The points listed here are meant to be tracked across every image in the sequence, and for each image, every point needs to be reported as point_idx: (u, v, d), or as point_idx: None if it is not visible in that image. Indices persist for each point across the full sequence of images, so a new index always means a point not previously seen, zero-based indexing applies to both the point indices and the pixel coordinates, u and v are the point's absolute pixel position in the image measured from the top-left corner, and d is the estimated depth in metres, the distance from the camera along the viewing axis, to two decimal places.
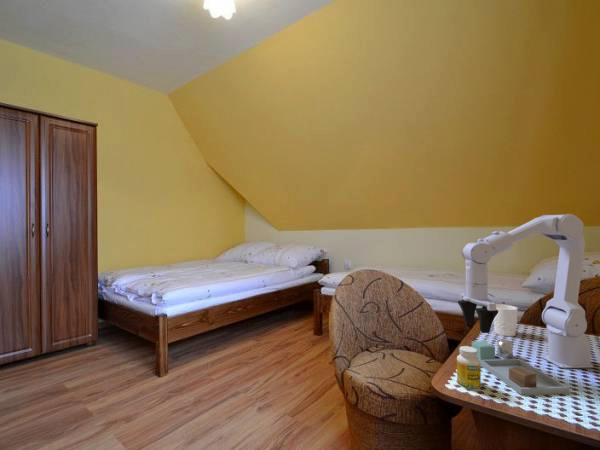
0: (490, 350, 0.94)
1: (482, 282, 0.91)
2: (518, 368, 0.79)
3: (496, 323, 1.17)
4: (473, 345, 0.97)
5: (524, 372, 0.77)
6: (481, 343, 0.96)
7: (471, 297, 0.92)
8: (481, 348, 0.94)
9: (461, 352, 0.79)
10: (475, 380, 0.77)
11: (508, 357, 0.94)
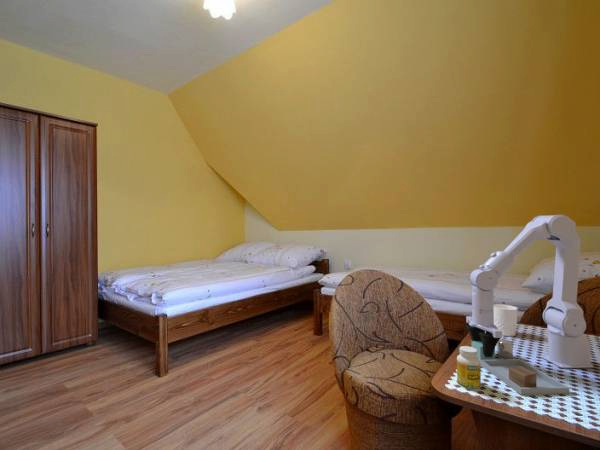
0: None
1: (487, 309, 0.93)
2: (518, 368, 0.79)
3: (496, 323, 1.17)
4: (473, 345, 0.97)
5: (524, 372, 0.77)
6: (481, 343, 0.96)
7: (477, 323, 0.95)
8: (481, 348, 0.94)
9: (461, 352, 0.79)
10: (475, 380, 0.77)
11: (508, 357, 0.94)
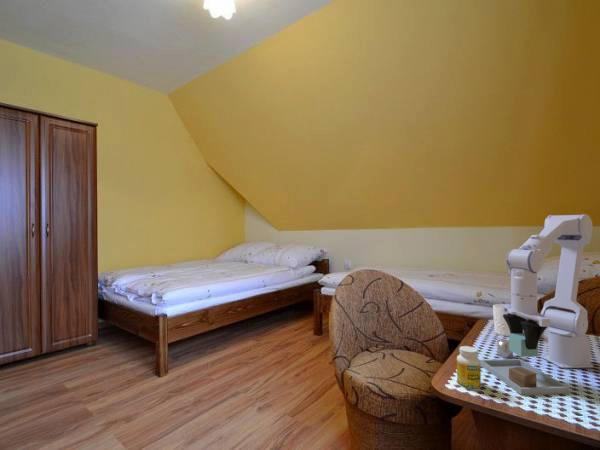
0: None
1: (536, 293, 0.81)
2: (518, 368, 0.79)
3: (496, 323, 1.17)
4: (511, 337, 0.85)
5: (524, 372, 0.77)
6: (520, 335, 0.84)
7: (518, 311, 0.82)
8: (522, 341, 0.81)
9: (461, 352, 0.79)
10: (475, 380, 0.77)
11: (508, 357, 0.94)
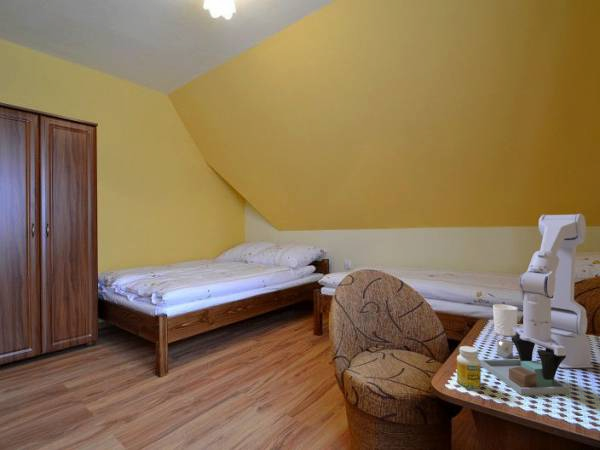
0: None
1: (550, 319, 0.78)
2: (518, 368, 0.79)
3: (496, 323, 1.17)
4: (524, 366, 0.81)
5: (524, 372, 0.77)
6: (533, 364, 0.80)
7: (531, 337, 0.79)
8: (536, 370, 0.78)
9: (461, 352, 0.79)
10: (475, 380, 0.77)
11: (508, 357, 0.94)
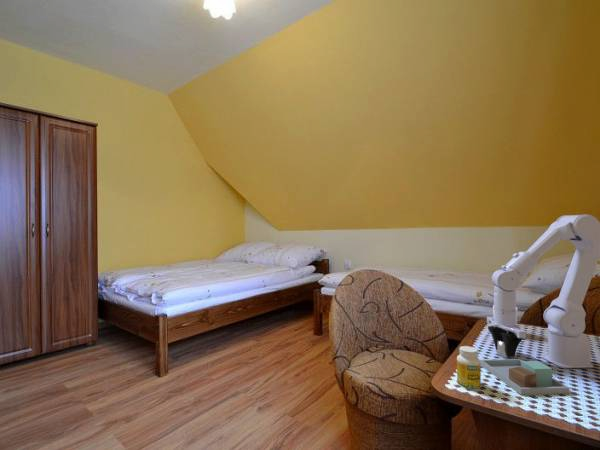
0: (546, 372, 0.78)
1: (509, 309, 0.93)
2: (518, 368, 0.79)
3: None
4: (524, 366, 0.81)
5: (524, 372, 0.77)
6: (533, 364, 0.80)
7: (499, 324, 0.95)
8: (536, 370, 0.78)
9: (461, 352, 0.79)
10: (475, 380, 0.77)
11: (508, 357, 0.94)
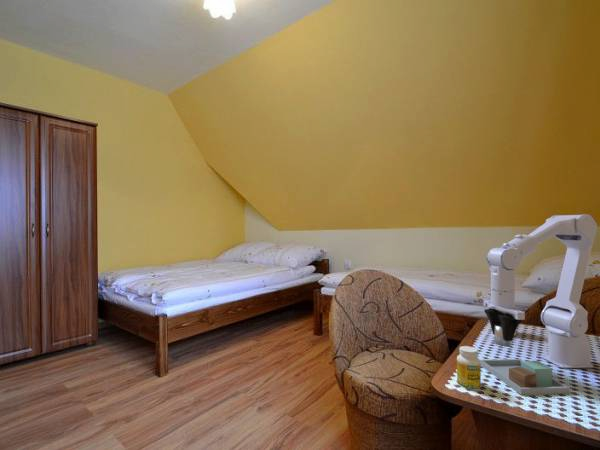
0: (546, 372, 0.78)
1: (511, 289, 0.86)
2: (518, 368, 0.79)
3: None
4: (524, 366, 0.81)
5: (524, 372, 0.77)
6: (533, 364, 0.80)
7: (496, 305, 0.88)
8: (536, 370, 0.78)
9: (461, 352, 0.79)
10: (475, 380, 0.77)
11: (507, 343, 0.87)
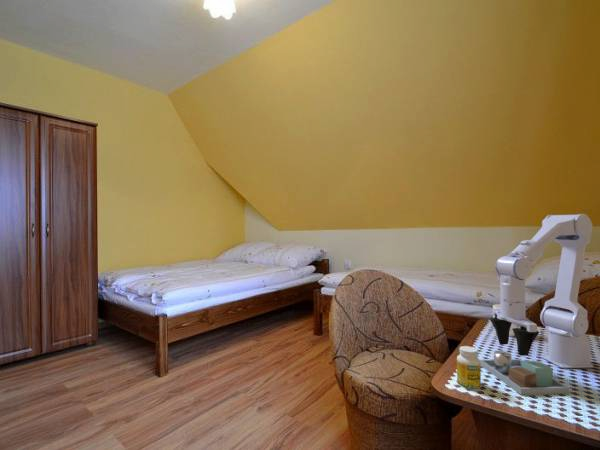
0: (546, 372, 0.78)
1: (523, 300, 0.83)
2: (518, 368, 0.79)
3: None
4: (524, 365, 0.81)
5: (524, 372, 0.77)
6: (534, 363, 0.80)
7: (507, 316, 0.85)
8: (536, 369, 0.78)
9: (461, 352, 0.79)
10: (475, 380, 0.77)
11: (507, 371, 0.84)
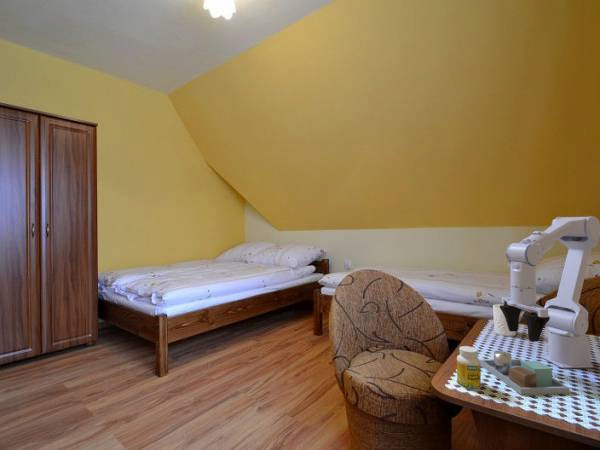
0: (546, 372, 0.78)
1: (534, 286, 0.84)
2: (518, 368, 0.79)
3: (496, 323, 1.17)
4: (524, 366, 0.81)
5: (524, 372, 0.77)
6: (533, 364, 0.80)
7: (517, 302, 0.85)
8: (536, 370, 0.78)
9: (461, 352, 0.79)
10: (475, 380, 0.77)
11: (507, 371, 0.84)
